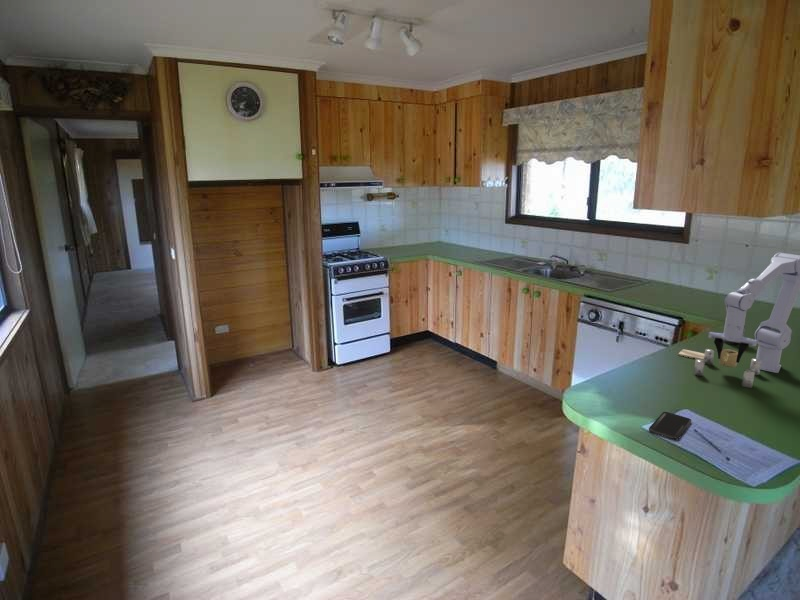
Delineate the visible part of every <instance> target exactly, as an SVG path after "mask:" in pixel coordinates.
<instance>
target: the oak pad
mask: <svg viewBox="0 0 800 600" xmlns="http://www.w3.org/2000/svg"><path fill="white" fill-rule="evenodd" d="M704 354H705V352H704V353H703V352H699V351H694V350H690V349H689V350H688V349H683V348H682V350H680V351H679V352H678V354H677V356H680V357H683V356H684V357H685V358H688V357H689V358H688V359H693V358H695V359H694V360H696V359H700V360H704Z"/></svg>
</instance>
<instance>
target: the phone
mask: <svg viewBox="0 0 800 600" xmlns="http://www.w3.org/2000/svg"><path fill="white" fill-rule="evenodd" d="M690 423H691V424H692V419H691V418H688V417H685V416H682V415H678V414H676V413H671V412H668V411H663V412H662V413H661V414H660V415H659V416H658V417H657V418H656V419H655V420H654V422H653V423H652V424H650V426H649V428H648V431H649V432H650V433H652V434H655V433H656V434H655V435H658V434H659V435H658V436H661V435H663V436H662V437H664V436H666V437H665V438H667V437H668V438H667V439H670V438H671V439H670V440H673V439H674V441H677V440H676V439H678V440H680V438H681V437H682V436H683V434H684V433H685V432H686V430H687V429H688V428H687V427H689V426H690V425H691V424H690ZM684 431H685V432H684ZM680 436H681V437H680ZM679 437H680V438H679Z"/></svg>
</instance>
